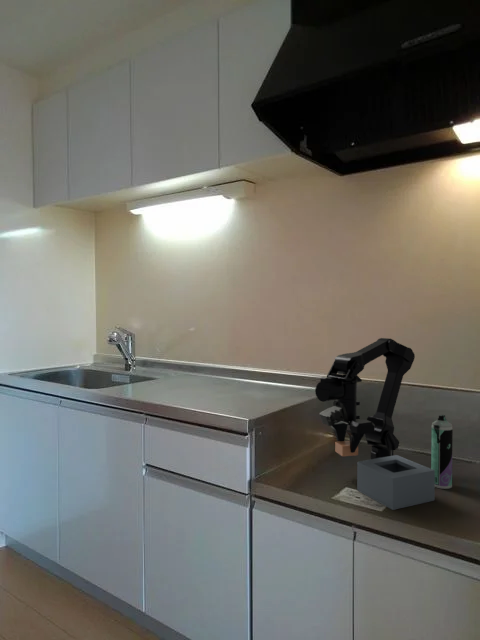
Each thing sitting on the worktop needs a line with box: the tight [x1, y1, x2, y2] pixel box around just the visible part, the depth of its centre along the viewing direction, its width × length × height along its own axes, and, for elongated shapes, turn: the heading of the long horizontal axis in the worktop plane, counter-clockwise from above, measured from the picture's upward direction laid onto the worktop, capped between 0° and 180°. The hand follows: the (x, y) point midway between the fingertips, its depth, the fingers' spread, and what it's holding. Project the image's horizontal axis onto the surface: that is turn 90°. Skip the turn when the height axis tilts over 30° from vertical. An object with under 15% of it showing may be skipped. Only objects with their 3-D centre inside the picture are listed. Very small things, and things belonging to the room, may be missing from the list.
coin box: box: [356, 454, 436, 511], centre depth 128 cm, size 14×14×8 cm
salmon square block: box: [334, 440, 359, 457], centre depth 142 cm, size 5×5×3 cm
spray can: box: [430, 414, 454, 490], centre depth 135 cm, size 6×6×20 cm
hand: (346, 449), depth 142 cm, fingers closed on salmon square block, 5 cm apart
